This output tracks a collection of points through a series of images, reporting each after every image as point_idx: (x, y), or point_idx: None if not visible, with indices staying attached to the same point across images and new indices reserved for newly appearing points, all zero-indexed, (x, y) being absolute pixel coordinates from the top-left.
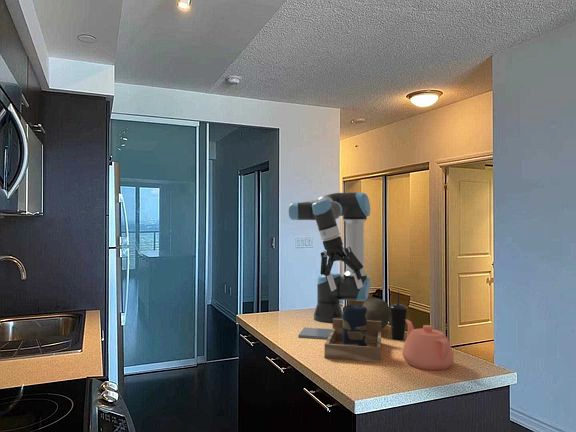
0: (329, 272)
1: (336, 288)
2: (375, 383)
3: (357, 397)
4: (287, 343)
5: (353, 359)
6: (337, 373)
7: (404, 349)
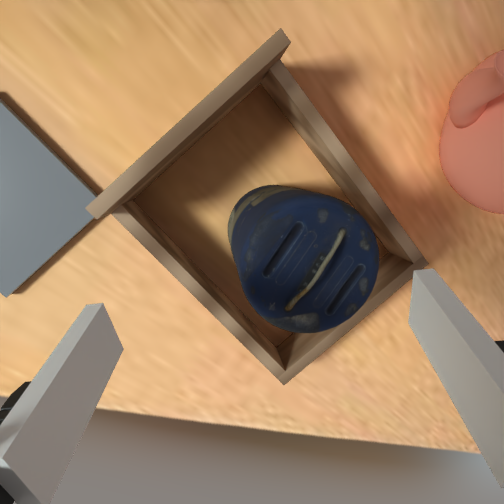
0: None
1: (101, 304)
2: None
3: None
4: None
5: None
6: (384, 402)
7: (482, 197)
